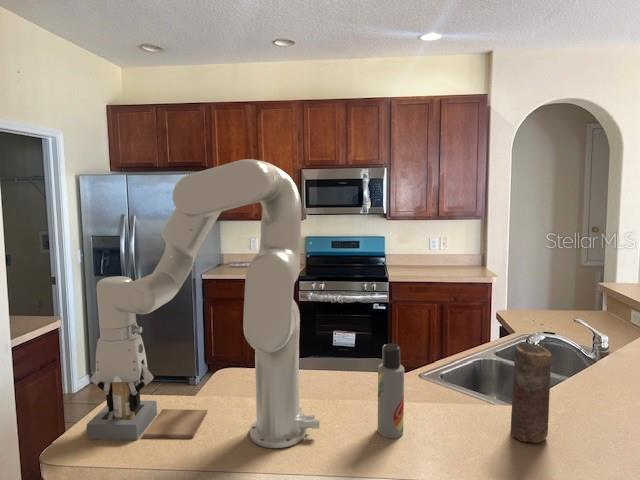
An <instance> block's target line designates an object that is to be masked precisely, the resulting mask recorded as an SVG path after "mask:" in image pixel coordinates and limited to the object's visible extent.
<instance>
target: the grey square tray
mask: <svg viewBox="0 0 640 480" xmlns="http://www.w3.org/2000/svg"><path fill="white" fill-rule="evenodd" d="M134 413H135V416H134V418H133V419H132V420H115V416H114V410H113V411H112V412H109V410H108V406H107V404H106V405H105V406H104V407H103V408H102V409H101V410H100V411H99V412H98V413H96V415H95V416H94V417H92V418H91V420H89V421H88V422H87V423H86V431H87V432H86V435H87V437H86V438H87V440H107V441H108V440H111V441H112V440H113V441H119V440H120V441H122V440H123V441H138V440H139V438H140V437H141V436H142V435H143V434H144V433H145V431H146V430H147V429H148V428H149V426H150V425H151V424H152V422H153V421H154V420H155V419H156V417H157V416H158V406H157V400H140V405H139V407H138V408H137V409H136V410H135V411H134ZM155 416H156V417H155Z"/></svg>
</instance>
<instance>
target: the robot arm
mask: <svg viewBox="0 0 640 480" xmlns="http://www.w3.org/2000/svg"><path fill="white" fill-rule="evenodd" d="M172 201H173V205H174V207H175V209H174V210H173V212H172V214H171V215H170V217H169V218H168V221H167V222H166V224H165V225H164V227H163V229H162V231H161V237H162V239H163V240H164V242H165V249H164V252H163V254H162V256H161V258H160V260H159V261H158V263H157V265H156V266H155V268H154V270H153V271H152V273H151V274H148V275H145V276H144V277H141V278H138V279H135V280H133V279H132V278H130V277H129V276H124V275H121V276H120V275H118V276H109V277H104V278H102V279H100V280H98V281H97V284H96V299H97V300H96V301H97V311H98V312H97V313H98V325H99V338H98V339H97V344H96V350H95V351H96V352H95V371H94V373H93V374H92V375H91V377H90V378H89V380H90V382H91V383H93V384H94V385H96V386H97V387H98V388H99V389H100V390H102V392H103V395H105V397H106V398H105V399H106V405H107V406H108V410H109V412H112V411H113V410H114V407H113V395H112V393H113V391H112V382H113V380H114V378H115V377H116V376H118V377H119V378H120V379H121V380H122V382H125V383H128V384H129V387H130V390H131V395H130V396H129V401H130V411H131V412H134V411H135V410H136V409H137V408H138V407H139V405H140V401H141V393H140V391H141V390H142V389H143V388H144V387H145V386H146V385H148V384H149V383H151V382H152V381H153V379H154V376H153V374H152V373H151V372H150V370H149V369H148V361H147V354H146V350H145V346H144V341H143V338H142V335H141V333H142V332H143V327H142V326H138V322H137V317H136V316H137V315H147V314H150V313H152V312H154V311H155V310H157V309H159V308H160V307H162V306H163V305H165V304H167V303H168V302H170V301H171V300H173V298H174V297H175V296H176V295H177V294H178V292H179V291H180V290H181V288H182V286H183V285H184V283H185V281H186V280H187V279H188V276H189V275H190V273H191V270H192V268H193V266H194V264H195V262H196V258H197V255H198V251H199V249H200V247H201V246H202V245H203V242H204V241H205V239H206V237H207V236H208V234H209V232H210V231H211V229H212V228H213V226H214V225H215V223H216V221H217V220H218V219H219V218H218V217H219V216H220V215H221V214H222V213H221V212H223V211H228V210H231V209H235V208H240V207H243V206H248V205H251V204H256V203H260V204H261V207H262V208H261V210H262V214H261V221H260V240H259V249H258V253H257V254H256V255H254V257H253V258H251V260H250V262H249V264H248V266H247V270H246V274H245V280H244V281H245V282H244V298H243V299H244V301H243V317H242V318H243V319H242V321H243V326H242V329H243V334H244V335H243V336H244V337H245V340H246V341H247V343H248V345H249V346H250V347H251V348H253V350H254V352H255V353H254V362H255V363H254V365H255V367H254V369H255V370H254V371H255V373H254V375H255V409H256V411H255V412H256V414H255V416H256V420H255V421H254V422H253V423H252V424H251V426H250V428H249V437H250V440H252V442H254V443H255V444H257V445H258V446H261V447H263V448H269V449H281V448H288V447H291V446H294V445H297V444H298V443H299V442H301V441H303V439H304V438H305V437H306V435H307V430H308V429H313V430H315V429H319V430H320V423H321V421H320V418H317V419H315V418H316V416H315V415H316V414H305V413H303V407H300V369H299V368H300V327H301V326H300V325H301V324H300V322H301V320H300V319H301V317H300V316H301V314H300V309H299V306H298V304H297V302H296V301H295V299H294V292H295V291H294V290H295V283H296V282H297V280H298V278H299V276H300V272H301V244H302V243H301V241H302V201H301V195H300V193H299V189H298V188H297V185H296V183H295V182H294V181H293V179H292V177H290V175H288V174H287V173H286V172H285V171H284V170H282V169H281V168H279V167H277V166H276V165H273V164H271V163H270V162H266V161H264V160H259V159H252V158H250V159H249V158H248V159H247V158H245V159H239V160H236V161H231V162H229V163H225V164H221V165H219V166H214V167H211V168H208V169H203V170H200V171H195V172H193V173H192V172H191V173H189V174H187V175H184V176H183V177H181V178H180V179H179V180H178V181H177V182H176V184H175V185H174V187H173V191H172ZM141 376H142V377H143V379H142V380H141Z"/></svg>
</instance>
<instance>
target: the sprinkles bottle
mask: <svg viewBox="0 0 640 480" xmlns="http://www.w3.org/2000/svg"><path fill="white" fill-rule="evenodd" d="M112 391H113V393H112V395H113V407H114V416H115V420H132V419H133V418H134V416H135V413H134V412H131V411H130V401H129V396H130V395H131V390H130V387H129V384H128V383H125V382H122V380H121V379H120V378H119V377H118V376H116V377H115V378H114V380H113V382H112Z"/></svg>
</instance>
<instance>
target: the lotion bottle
mask: <svg viewBox="0 0 640 480" xmlns="http://www.w3.org/2000/svg"><path fill="white" fill-rule="evenodd" d="M381 362H382V363H380V364H379V365H378V367H377V369H378V370H377V431H378V434H379V435H380V436H382V437H384V438H386V437H387V438H386V439H397V437H398V438H400V437H401V436H402V435H403V434H404V415H405V414H404V413H405V411H404V409H405V407H404V405H405V367H404V366H403V365H402V364H401V347H400V346H399V345H398V344H396V343H387V344H384V345H383V346H382V361H381Z"/></svg>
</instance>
